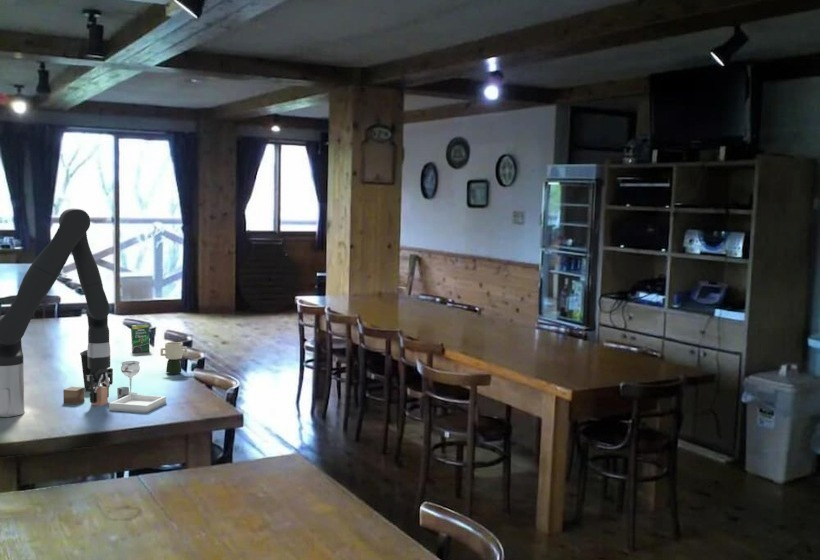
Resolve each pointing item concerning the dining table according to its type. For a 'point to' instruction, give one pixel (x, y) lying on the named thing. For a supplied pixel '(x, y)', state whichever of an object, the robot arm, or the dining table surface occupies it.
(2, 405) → the robot arm
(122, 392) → the grey cube
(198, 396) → the dining table surface
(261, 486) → the dining table surface
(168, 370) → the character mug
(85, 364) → the drinking cup
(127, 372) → the wineglass
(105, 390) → the terracotta block
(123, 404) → the tray
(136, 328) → the coffee box
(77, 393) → the walnut cube
